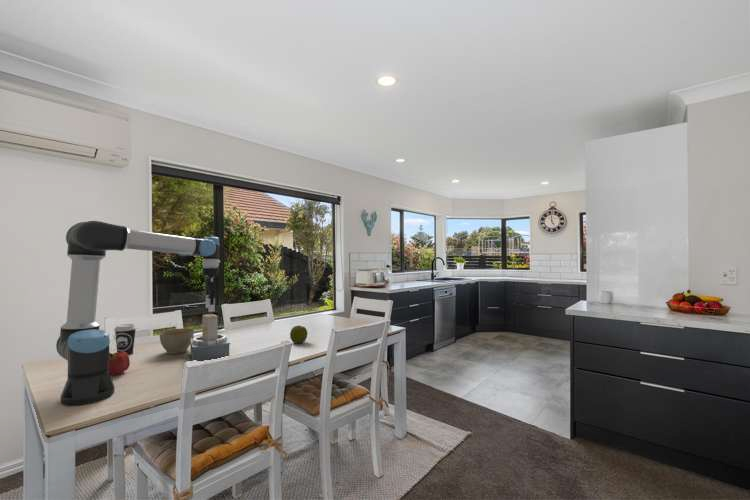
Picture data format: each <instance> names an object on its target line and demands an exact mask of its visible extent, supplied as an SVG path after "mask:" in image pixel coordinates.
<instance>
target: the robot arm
mask: <svg viewBox="0 0 750 500" xmlns="http://www.w3.org/2000/svg"><path fill="white" fill-rule="evenodd" d="M65 240H66V244H67V252H66V253H67V254H66V255H67V257H68V258H70V259H71V267H70V280H69V287H68V288H69V290H68V291H69V292H68V303H67V312H66V313H67V315H66V321H65V323H63V325H60V331H59V337H58V338H57V341H56V343H55V344H56V345H55V348H56V349H55V350H56V352H57V354H58V355H59V356H60V357H61V358H63V359H64V360H66V361H67V379H66V383H65V384H64V387H63V389H62V392H61V394H60V404H61V405H63V406H66V407H67V406H70V407H71V406H73V407H74V406H83V405H89V404H92V403H96V402H99V401H103V400H106V399H107V398H110V397H111V396H113V394H115V384H114V382H113V379H112V377H111V375H110V374H109V353H110V343H111V338H110V334H109V332H108V331H106V330H103V329H100V326H101V325H100V323H98V322H97V320H96V317H97V315H96V314H97V304H98V293H99V281H100V280H99V279H100V266H101V260H103V259H105V258H106V255H107V253H106V252H107V251H119V252H121V251H122V252H123V251H124V250H126V249H128V250H136V251H138V250H139V251H149V252H160V253H170V254H178V256H184V257H187V256H188V257H190V256H193V257H194V256H195V257H197V256H199V257H201V256H202V265H201V266H202V267H203V268H202V269H201V270H202V273H201V275H202V276H205V291H204V292H205V309H207V308H208V310H207V311H208V312H210V313H211V312H215V311H216V310H215V308H216V306H215V305H216V278H215V277H214V276H218V275H219V274H220V268H219V266H220V263H221V260H220V246H221V245H220V239H219V237H217V236H203V238H193V237H189V236H188V237H187V236H179V235H173V234H166V233H165V234H164V233H157V232H150V231H141V230H135V229H129V228H128V227H127V226H124V225H117V224H113V223H109V222H103V221H99V220H89V221H88V220H87V221H82V222H81V221H80V222H77V223H76V224H73V225H72V226H70V227H69V228H68V230H67V232H66V234H65Z"/></svg>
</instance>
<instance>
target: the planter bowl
mask: <svg viewBox="0 0 750 500" xmlns="http://www.w3.org/2000/svg"><path fill="white" fill-rule="evenodd" d="M194 333H195V329H194V328H188V327H187V328H183V327H182V328H173V329H168V330H163V331H161V332H159V333H158V335H159V341H160V345H161V346H162V348H163V349H164V351H165V352H166V354H169V355H176V354H183V353H185V352H187V351H188V349H189V347H191V342H190V338H193V337H195V336H194V335H195V334H194Z"/></svg>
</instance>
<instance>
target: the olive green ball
mask: <svg viewBox="0 0 750 500" xmlns="http://www.w3.org/2000/svg"><path fill="white" fill-rule="evenodd" d="M308 333H309V332H308V330H307V328H306V327H305V326H302V325H296V326H293V327H292V328H291V329H290V333H289V338H290V340H291V341H292V343H294V344H298V343H300V344H302V342H303V343H304V342H306V340H307V338H308Z"/></svg>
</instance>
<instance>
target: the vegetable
mask: <svg viewBox="0 0 750 500" xmlns="http://www.w3.org/2000/svg"><path fill="white" fill-rule="evenodd" d="M130 366H131V359H130V355H128V354H127V353H126V352H123V351H122V352H117V351H116V352H114V353H111V352H109V374H110V376H111V375H114V376H117V375H121V374H123V373H124V372H126V371H127V370H128V369H129V368H130Z"/></svg>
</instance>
